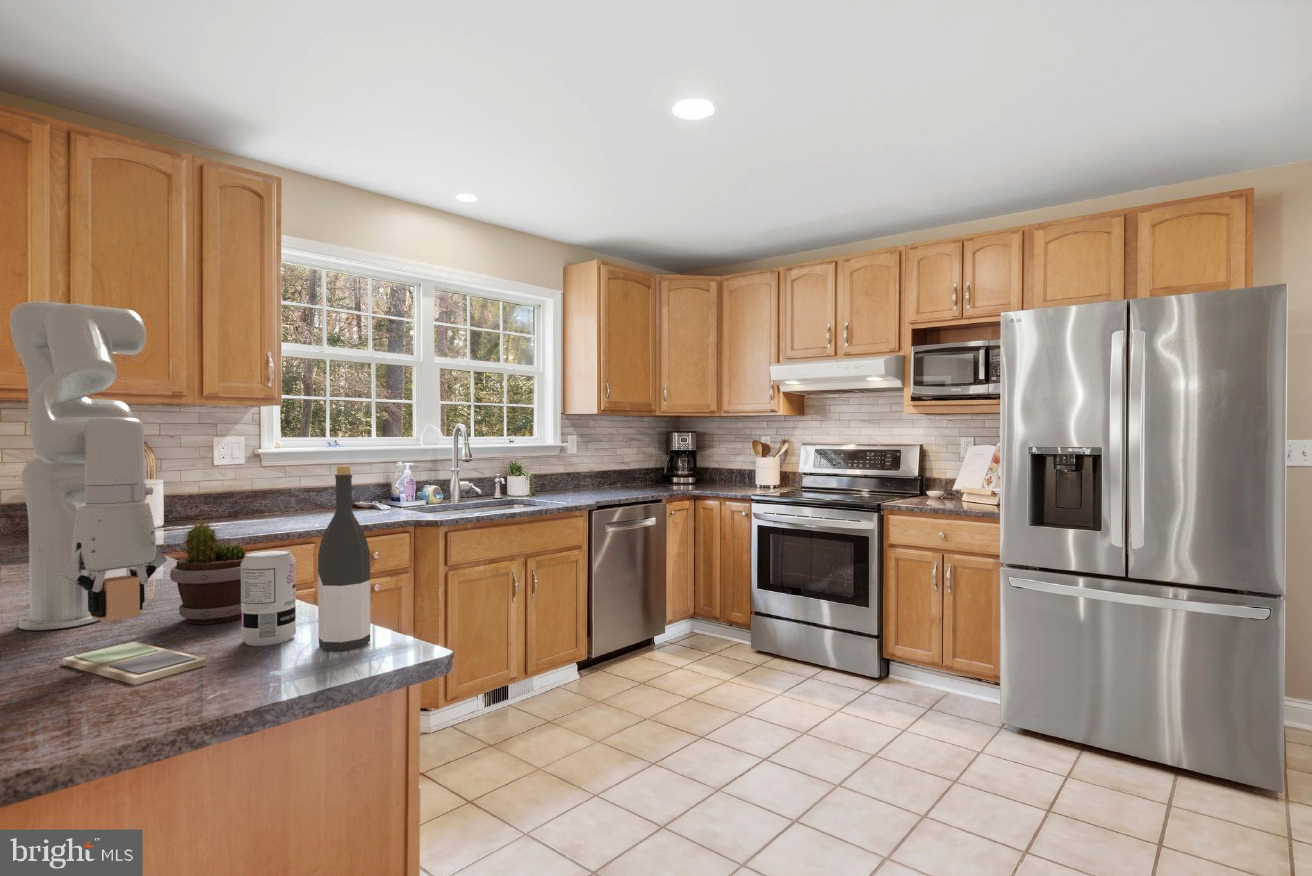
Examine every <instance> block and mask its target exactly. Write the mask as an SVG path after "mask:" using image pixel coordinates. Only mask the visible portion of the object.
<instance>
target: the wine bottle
mask: <svg viewBox="0 0 1312 876" xmlns="http://www.w3.org/2000/svg"><path fill="white" fill-rule="evenodd" d="M352 478H353V474H351V465H337V466H336V474H334V479H335V513H334V514H333V517H332V518H331V520H330V522H329V524H328V526H327V527H326V529H325V531H324V533H323V536H322V539H321V541H320V546H319V548H318V553H317V603H318V604H317V609H318V611H317V612H318V613H317V614H318V616H317V618H318V622H317V623H318V624H317V625H318V633H317V635H318V639H317V640H318V647H319V648H320V649H321V650H322V649H323V651H324V652H341V651H342V652H347V651H351V649H353V650H357V649H362V648H364V647H365V646H367V645H369V644H368V642H370V643H371V551H370V547H369V544H368V543H369V542H368V540H367V538H366V536H365V533H364V530H363V528H362V526H361V524H360V523H359V521H358V519H357V518H356V516H355V514H354V512H353V508H352V507H353V506H352V505H353V504H352V499H353V498H352V497H353V496H352V495H353V494H352V493H353V492H352V491H353V490H352V488H353V487H352ZM366 644H367V645H366ZM364 645H365V646H364ZM361 647H362V648H361Z"/></svg>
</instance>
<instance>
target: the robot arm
mask: <svg viewBox="0 0 1312 876" xmlns="http://www.w3.org/2000/svg"><path fill="white" fill-rule="evenodd" d="M9 329H10V335H11V341H12V343H13V346H14V349H15V351H16V353H17V355H18V357H19V360H20V362H21V364H22V366H23V368H24V371H25V374H26V380H27V393H28V394H27V397H28V412H27V419H28V427H29V432H30V438H31V444H32V448H33V451H34V453H35V455H36V458H33V459H31V460H29V461H28V462H27V463H26V464H25V465H24V466H23V468H22V472H21V484H22V488H23V494H24V498H25V503H26V509H27V519H28V521H27V522H28V547H29V548H28V549H29V550H28V554H29V555H28V557H29V558H28V559H29V562H28V563H29V565H28V566H29V568H28V569H29V571H28V573H29V616H27V617H24V618H22V619H20V620H19V621H18V628H19V629H20V630H26V631H49V630H59V629H67V628H73V627H79V626H84V625H87V624H92V623H95V622H98V621H99V620H97V619H93V618H92V616H94V617H99V618H102V617H105V616H106V593H105V591H102V586H103V581H104V578H106V574H107V571H114V570H120V569H126V568H127V572H128V576H135V577H140V611H142V610H143V608H144V603H145V602H146V601H145V585H146V584H147V583H148V582H149V579H150V578H151V576H152V575H153V574H154V573H155V572H156V571H157V569H159V568H160V567H161V566H163V565H164V564H165V563H166V562H167V557H166V556H165V554H164V553H162V551H161V550H160V549H159V548H158V546H157V538H156V529H155V523H154V518H153V512H152V509H151V506H150V503H149V502H146V500H147V496H148V495H151V496H152V495H153V494H154V488H153V487H152V486H147V484H146V483H145V481H146V479H145V474H146V473H145V426H144V424H143V422H142V421H141V420H140V419H138V418H135V417H134V414H133V412H132V410H131V407H129V405H128V404H127V403H125V402H123V401H121V400H116V399H106V398H105V399H104V398H100V399H99V398H90V396H92V395H95V394H98V393H100V392H103V391H105V390H106V389H108V388H109V387H111V386H112V385H113V384H114V383H115V382H116V379H117V378H118V377H117V376H118V370H117V367H116V363H115V359H114V356H113V354H114V355H130V356H131V355H132V356H136V355H138V354H140V353H142V351H143V350H144V348H145V346H146V341H147V329H146V326H145V324H144V321H143V319H142V317H141V316H140V315H139V314H138V313H137V312H135V311H134V310H131V309H126V308H120V307H110V306H103V305H102V306H100V305H94V304H93V305H92V304H85V303H84V304H83V303H64V302H63V303H62V302H56V301H55V302H53V301H26V302H22V303H19V304H17V305H15V306H14V307H13V309H12V310H11V312H10V316H9ZM79 505H82V506H79ZM83 505H84V506H83ZM77 506H78V508H77Z"/></svg>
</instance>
